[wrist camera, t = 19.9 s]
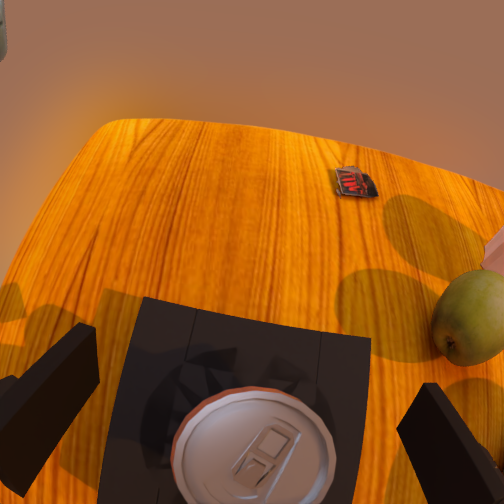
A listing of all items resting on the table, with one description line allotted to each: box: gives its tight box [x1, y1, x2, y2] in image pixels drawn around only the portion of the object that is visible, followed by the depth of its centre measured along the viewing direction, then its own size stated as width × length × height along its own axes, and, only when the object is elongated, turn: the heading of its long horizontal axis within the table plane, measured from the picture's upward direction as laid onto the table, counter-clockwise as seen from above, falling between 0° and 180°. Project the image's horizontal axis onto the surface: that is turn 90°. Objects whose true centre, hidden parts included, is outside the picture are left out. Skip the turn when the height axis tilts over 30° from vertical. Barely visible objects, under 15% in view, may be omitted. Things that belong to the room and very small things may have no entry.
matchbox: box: [335, 166, 379, 199], centre depth 30 cm, size 5×5×1 cm
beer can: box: [170, 386, 336, 504], centre depth 12 cm, size 5×5×12 cm
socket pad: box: [97, 297, 371, 504], centre depth 16 cm, size 15×15×4 cm
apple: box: [431, 270, 504, 366], centre depth 19 cm, size 8×9×8 cm
